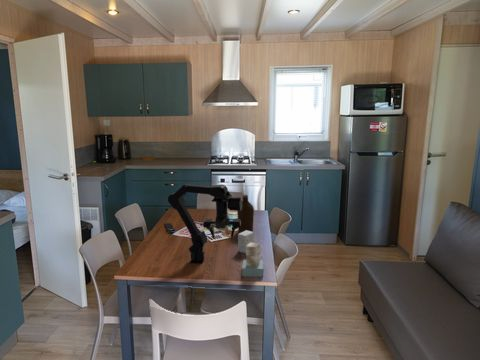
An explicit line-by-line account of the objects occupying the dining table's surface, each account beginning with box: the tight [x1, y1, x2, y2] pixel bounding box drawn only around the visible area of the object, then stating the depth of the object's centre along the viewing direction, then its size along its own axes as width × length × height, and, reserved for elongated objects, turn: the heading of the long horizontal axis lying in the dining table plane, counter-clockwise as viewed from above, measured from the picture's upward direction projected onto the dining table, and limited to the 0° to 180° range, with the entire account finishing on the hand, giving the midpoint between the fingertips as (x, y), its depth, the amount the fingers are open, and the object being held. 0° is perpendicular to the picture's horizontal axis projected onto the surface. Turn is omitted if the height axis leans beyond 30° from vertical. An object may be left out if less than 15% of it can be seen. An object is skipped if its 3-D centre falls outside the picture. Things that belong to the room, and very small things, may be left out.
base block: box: [241, 259, 264, 278], centre depth 167 cm, size 10×10×4 cm
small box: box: [237, 230, 255, 255], centre depth 193 cm, size 8×6×10 cm
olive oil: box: [236, 194, 255, 234], centre depth 221 cm, size 11×11×25 cm
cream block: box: [245, 242, 261, 267], centre depth 166 cm, size 5×5×10 cm
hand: (222, 239), depth 175 cm, fingers open, 9 cm apart
